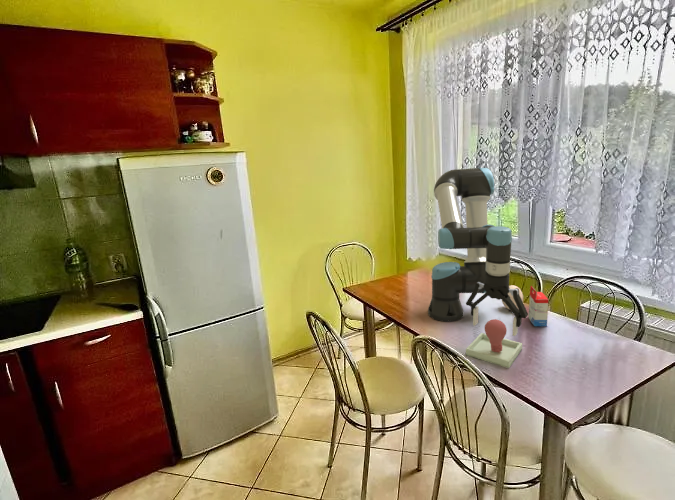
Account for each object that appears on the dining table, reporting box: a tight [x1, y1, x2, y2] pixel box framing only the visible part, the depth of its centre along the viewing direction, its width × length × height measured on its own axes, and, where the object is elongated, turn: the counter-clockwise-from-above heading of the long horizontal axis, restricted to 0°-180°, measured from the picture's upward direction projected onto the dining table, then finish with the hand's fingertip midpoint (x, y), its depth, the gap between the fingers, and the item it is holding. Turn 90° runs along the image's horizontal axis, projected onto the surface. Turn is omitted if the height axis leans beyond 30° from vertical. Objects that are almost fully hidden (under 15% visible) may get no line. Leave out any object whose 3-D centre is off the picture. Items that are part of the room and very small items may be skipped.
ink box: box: [527, 285, 549, 327], centre depth 150 cm, size 8×5×15 cm, turn 168°
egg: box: [501, 284, 524, 311], centre depth 163 cm, size 9×9×11 cm
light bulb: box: [484, 318, 508, 352], centre depth 130 cm, size 7×7×12 cm
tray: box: [465, 332, 523, 369], centre depth 132 cm, size 15×15×2 cm
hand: (494, 329), depth 131 cm, fingers open, 13 cm apart
